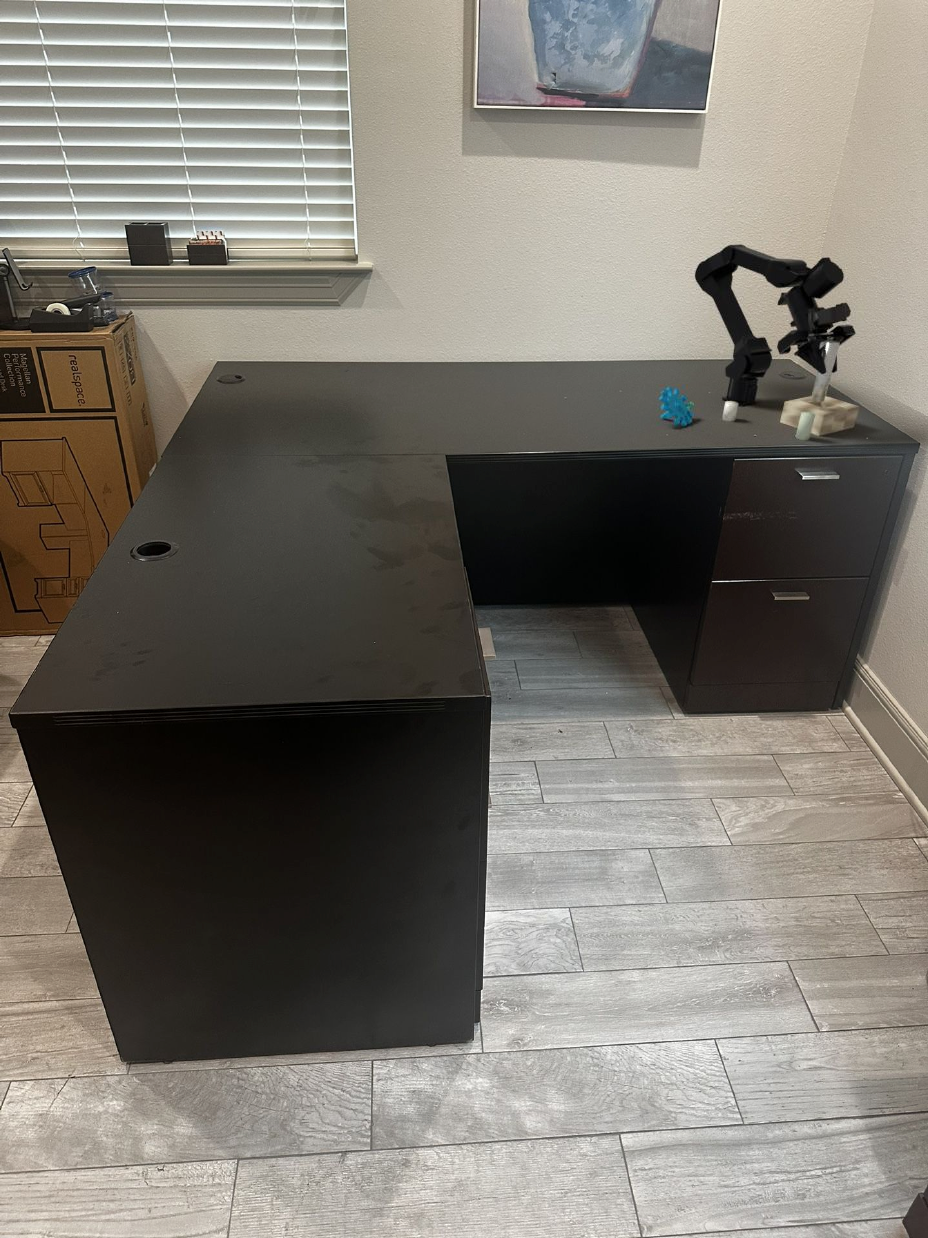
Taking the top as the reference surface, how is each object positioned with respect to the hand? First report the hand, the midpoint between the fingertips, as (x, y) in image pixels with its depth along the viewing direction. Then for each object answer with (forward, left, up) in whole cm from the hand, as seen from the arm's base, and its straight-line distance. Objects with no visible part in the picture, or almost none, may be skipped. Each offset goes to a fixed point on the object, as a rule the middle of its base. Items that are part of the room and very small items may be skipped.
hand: (829, 372), depth 187 cm
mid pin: (+2, -7, -14) cm, 15 cm away
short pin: (-16, -12, -14) cm, 24 cm away
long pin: (-1, 0, -7) cm, 7 cm away
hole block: (-3, +4, -14) cm, 15 cm away
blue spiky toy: (-21, -25, -14) cm, 35 cm away
